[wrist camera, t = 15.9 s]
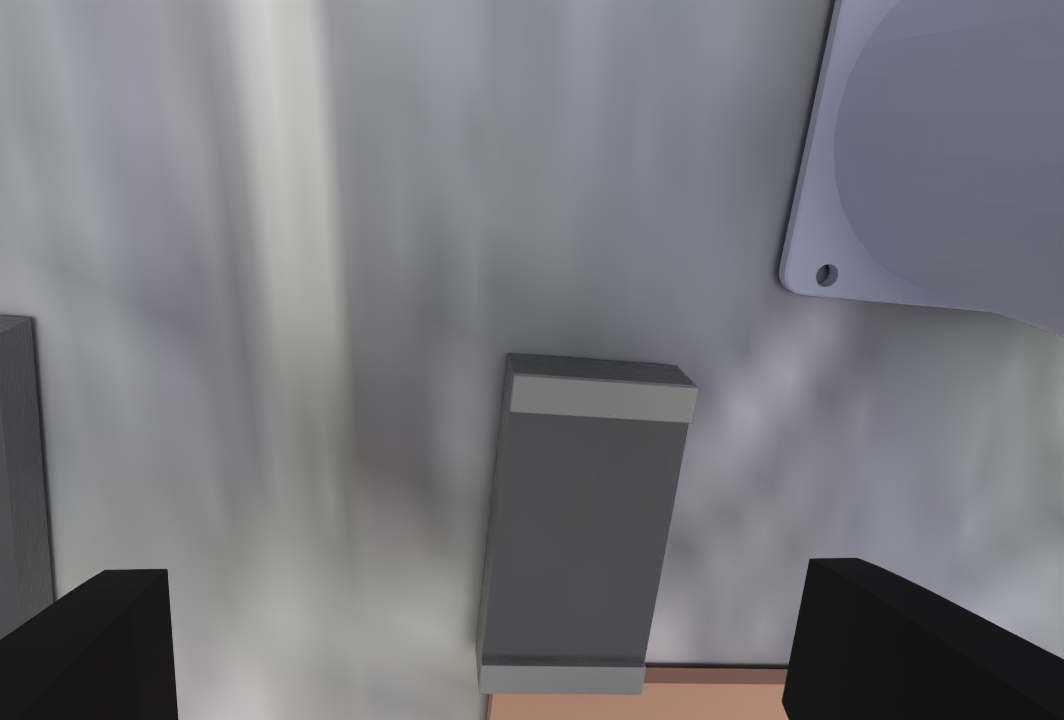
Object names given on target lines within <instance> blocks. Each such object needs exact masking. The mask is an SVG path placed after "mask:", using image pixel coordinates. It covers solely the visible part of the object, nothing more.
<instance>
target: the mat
mask: <svg viewBox="0 0 1064 720" xmlns="http://www.w3.org/2000/svg"><path fill="white" fill-rule="evenodd" d="M787 671H788V669H715V668H646V672H645V678H644V683H643V688H642V694H641V695H607V694H489V703H488V711H487V720H789V719H788V717H787V714H786V712H785V709H784V707H783V705H782V697H783V691H784V686H785V681H786V676H787Z"/></svg>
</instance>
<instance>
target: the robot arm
mask: <svg viewBox="0 0 1064 720" xmlns="http://www.w3.org/2000/svg"><path fill="white" fill-rule="evenodd" d="M827 264H828V266H829V268H830V274H829V276H828V278H827V279H826V280H825V281H824V282H822V283H817V281H816V274H817V272H818V270H819V268H821V267H822V266H823V265H827ZM779 278H780V281H781V283H782V285H783V286H784V287H785V288H786V289H787V290H789V291H791V292H793V293H796V294H799V295H807V296H818V297H829V298H840V299H851V300H862V301H873V302H884V303H895V304H906V305H917V306H929V307H940V308H951V309H962V310H973V311H984V312H994V313H997V314H1000V315H1003V316H1005V317H1008V318H1011V319H1014V320H1017V321H1020V322H1022V323H1025V324H1028V325H1031V326H1034V327H1036V328H1039V329H1042V330H1045V331H1048V332H1050V333H1053V334H1056V335H1059V336H1062V337H1064V0H835V5H834V10H833V14H832V19H831V24H830V29H829V34H828V38H827V43H826V48H825V53H824V57H823V62H822V67H821V72H820V76H819V81H818V86H817V91H816V96H815V100H814V105H813V110H812V115H811V119H810V124H809V129H808V134H807V138H806V143H805V148H804V153H803V158H802V162H801V167H800V172H799V177H798V181H797V186H796V191H795V196H794V200H793V205H792V210H791V215H790V220H789V224H788V229H787V234H786V239H785V243H784V248H783V253H782V258H781V262H780V267H779ZM782 705H783V707H784V709H785V712H786V714H787V717H788V719H789V720H1064V659H1062V658H1060V657H1058V656H1056V655H1054V654H1052V653H1050V652H1048V651H1046V650H1044V649H1042V648H1040V647H1038V646H1036V645H1034V644H1032V643H1030V642H1029V641H1027V640H1025V639H1023V638H1021V637H1019V636H1017V635H1015V634H1013V633H1011V632H1009V631H1007V630H1005V629H1003V628H1001V627H999V626H997V625H996V624H994V623H992V622H990V621H988V620H986V619H984V618H982V617H980V616H978V615H976V614H974V613H972V612H970V611H968V610H966V609H964V608H963V607H961V606H959V605H957V604H955V603H953V602H951V601H949V600H947V599H945V598H943V597H941V596H939V595H937V594H935V593H933V592H931V591H929V590H927V589H925V588H923V587H921V586H919V585H917V584H915V583H913V582H911V581H909V580H907V579H905V578H903V577H901V576H899V575H896V574H894V573H892V572H890V571H888V570H886V569H883V568H881V567H879V566H876V565H874V564H871V563H869V562H866V561H864V560H861V559H859V558H819V559H809V564H808V570H807V575H806V580H805V585H804V590H803V595H802V600H801V605H800V610H799V615H798V620H797V625H796V631H795V636H794V641H793V646H792V651H791V656H790V661H789V666H788V671H787V676H786V681H785V686H784V691H783V697H782ZM0 720H178V709H177V695H176V681H175V668H174V654H173V640H172V626H171V612H170V598H169V585H168V571H167V569H134V570H104V571H102V572H101V573H99V574H97V575H96V576H94V577H92V578H91V579H89V580H87V581H86V582H84V583H83V584H81V585H80V586H78V587H77V588H75V589H74V590H72V591H71V592H69V593H68V594H66V595H65V596H63V597H62V598H60V599H59V600H57V601H56V602H54V603H53V604H51V605H50V606H48V607H47V608H45V609H44V610H43V611H41V612H40V613H38V614H37V615H35V616H34V617H32V618H31V619H30V620H28V621H27V622H25V623H24V624H22V625H21V626H19V627H18V628H16V629H15V630H14V631H12V632H11V633H9V634H8V635H6V636H5V637H3V638H2V639H0Z"/></svg>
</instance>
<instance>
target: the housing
mask: <svg viewBox="0 0 1064 720" xmlns="http://www.w3.org/2000/svg"><path fill="white" fill-rule="evenodd" d="M698 389H699V388H698V387H697V386H696V385H695V384H694V383H693V382H692V381H691V380H690V379H689V378H688V377H687V376H686V375H685V374H684V373H683V372H682V371H681V370H680V369H679V368H678V367H677V366H675V365H661V364H648V363H634V362H621V361H607V360H594V359H580V358H567V357H553V356H540V355H526V354H512V353H508V356H507V365H506V374H505V383H504V392H503V402H502V411H501V420H500V429H499V438H498V447H497V457H496V466H495V475H494V484H493V493H492V502H491V511H490V521H489V530H488V539H487V548H486V557H485V566H484V576H483V585H482V594H481V603H480V612H479V621H478V631H477V640H476V649H475V650H476V663H477V675H478V688H479V694H607V695H641V694H642V688H643V683H644V678H645V672H646V665H645V663H644V661H645V655H646V650H647V644H648V639H649V634H650V628H651V623H652V618H653V612H654V607H655V601H656V596H657V591H658V585H659V580H660V575H661V569H662V564H663V558H664V553H665V548H666V542H667V537H668V531H669V526H670V521H671V515H672V510H673V505H674V499H675V494H676V488H677V483H678V478H679V472H680V467H681V462H682V456H683V451H684V445H685V440H686V435H687V429H688V424H689V423H692V421H693V416H694V411H695V405H696V400H697V395H698ZM51 604H53V592H52V579H51V566H50V554H49V541H48V528H47V516H46V503H45V490H44V477H43V465H42V452H41V439H40V427H39V414H38V401H37V389H36V376H35V363H34V350H33V338H32V325H31V318H25V317H11V316H0V639H2V638H3V637H5V636H6V635H8V634H9V633H11V632H12V631H14V630H15V629H16V628H18V627H19V626H21V625H22V624H24V623H25V622H27V621H28V620H30V619H31V618H32V617H34V616H35V615H37V614H38V613H40V612H41V611H43V610H44V609H45V608H47V607H48V606H50V605H51Z"/></svg>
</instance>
